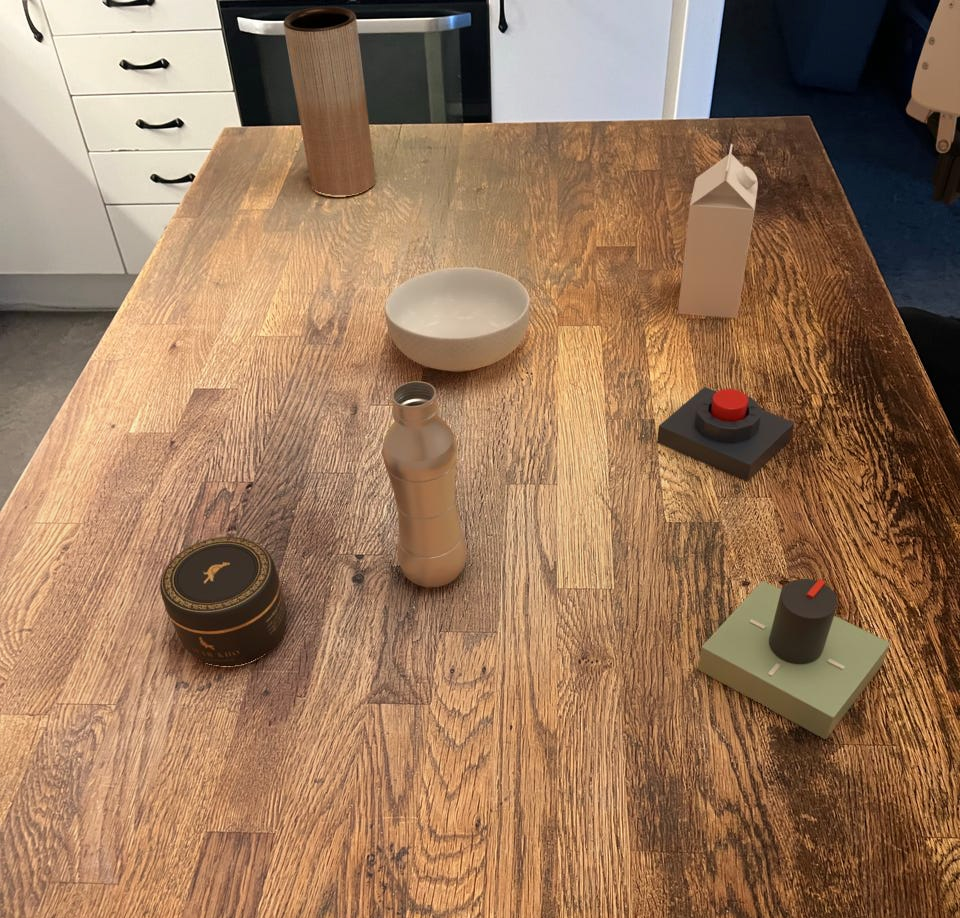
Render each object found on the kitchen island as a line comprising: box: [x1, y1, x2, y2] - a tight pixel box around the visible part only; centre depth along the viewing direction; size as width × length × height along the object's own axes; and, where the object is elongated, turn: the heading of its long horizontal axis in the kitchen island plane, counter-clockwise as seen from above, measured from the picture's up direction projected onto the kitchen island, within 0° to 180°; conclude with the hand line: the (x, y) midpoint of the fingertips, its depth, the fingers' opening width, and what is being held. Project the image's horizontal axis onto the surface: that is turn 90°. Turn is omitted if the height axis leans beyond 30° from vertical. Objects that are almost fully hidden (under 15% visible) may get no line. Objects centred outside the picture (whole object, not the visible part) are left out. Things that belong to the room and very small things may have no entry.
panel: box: [697, 580, 891, 740], centre depth 84 cm, size 12×10×3 cm
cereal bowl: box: [384, 266, 531, 373], centre depth 117 cm, size 17×17×7 cm
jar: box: [159, 536, 287, 666], centre depth 88 cm, size 10×10×8 cm
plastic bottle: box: [381, 380, 468, 588], centre depth 87 cm, size 6×7×20 cm
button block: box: [656, 386, 795, 483], centre depth 105 cm, size 11×9×4 cm
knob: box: [769, 578, 839, 664], centre depth 80 cm, size 4×4×6 cm
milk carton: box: [677, 143, 759, 319], centre depth 116 cm, size 7×7×19 cm
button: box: [711, 388, 749, 422], centre depth 103 cm, size 4×4×2 cm
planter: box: [283, 6, 377, 195], centre depth 145 cm, size 10×10×23 cm
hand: (947, 197), depth 87 cm, fingers closed
